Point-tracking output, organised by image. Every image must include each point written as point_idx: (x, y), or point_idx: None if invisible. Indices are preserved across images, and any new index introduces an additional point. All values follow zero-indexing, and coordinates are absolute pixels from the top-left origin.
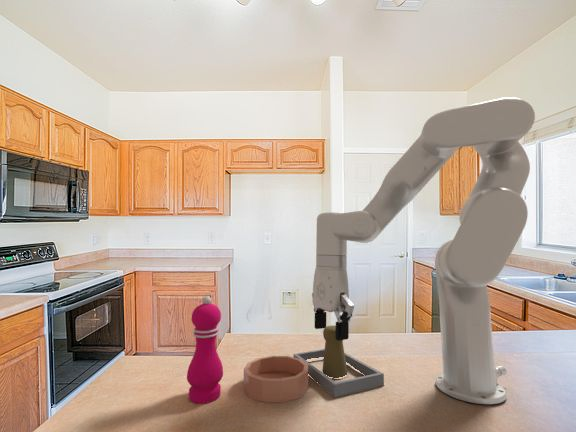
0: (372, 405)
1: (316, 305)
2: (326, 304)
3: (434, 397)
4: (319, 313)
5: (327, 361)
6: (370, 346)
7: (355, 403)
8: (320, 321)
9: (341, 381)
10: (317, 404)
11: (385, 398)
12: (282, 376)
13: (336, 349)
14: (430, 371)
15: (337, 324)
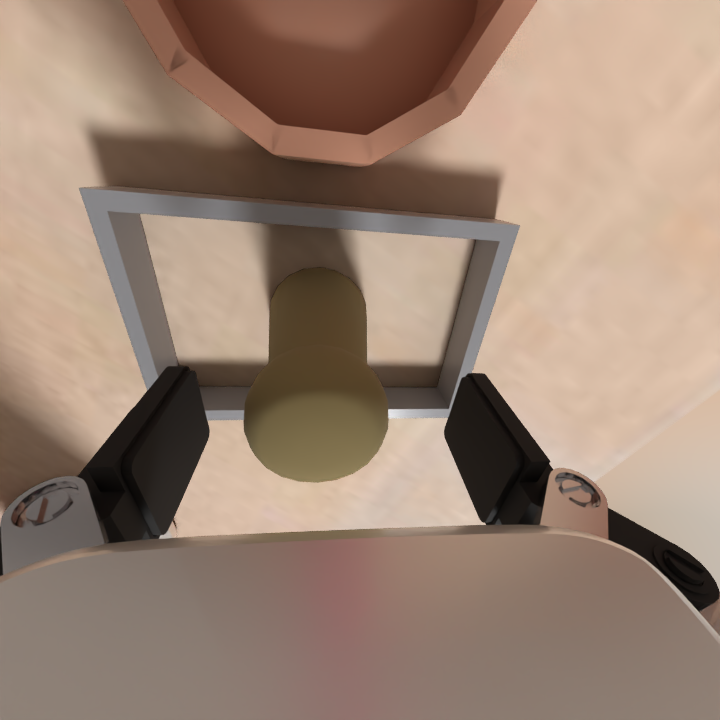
0: (32, 281)
1: (500, 546)
2: (88, 693)
3: (72, 454)
4: (506, 483)
5: (302, 296)
6: (437, 507)
7: (54, 234)
8: (471, 434)
9: (112, 242)
10: (59, 57)
11: (83, 348)
12: (379, 34)
13: (271, 357)
14: (225, 524)
15: (104, 454)
